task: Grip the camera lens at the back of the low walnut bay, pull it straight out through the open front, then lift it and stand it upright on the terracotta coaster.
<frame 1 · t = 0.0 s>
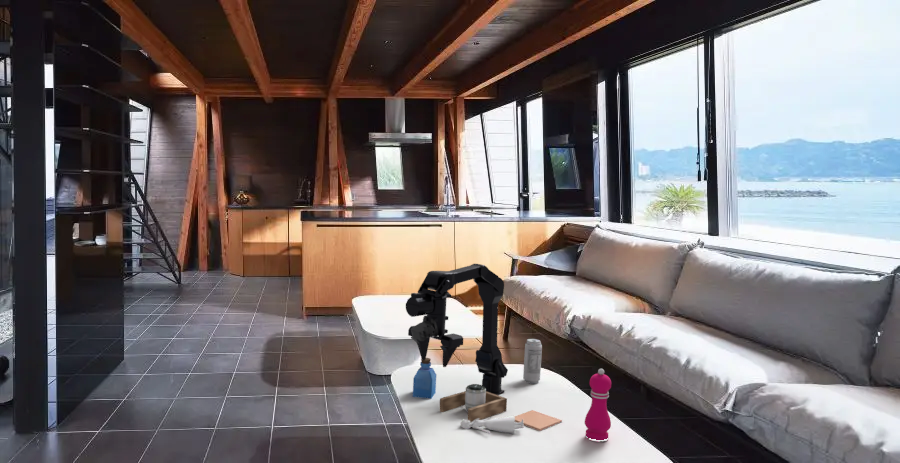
hand: (433, 363, 198), 15 cm above the table, tool pointing down, fingers open, 9 cm apart
walnut bay: (472, 411, 200), on the table
terracotta coaster: (535, 421, 195), on the table
pepper mill: (596, 438, 184), on the table
camera lens: (474, 411, 201), on the table
energy drink can: (531, 381, 234), on the table
perfume bottle: (424, 395, 214), on the table
woman figurine: (491, 431, 187), on the table
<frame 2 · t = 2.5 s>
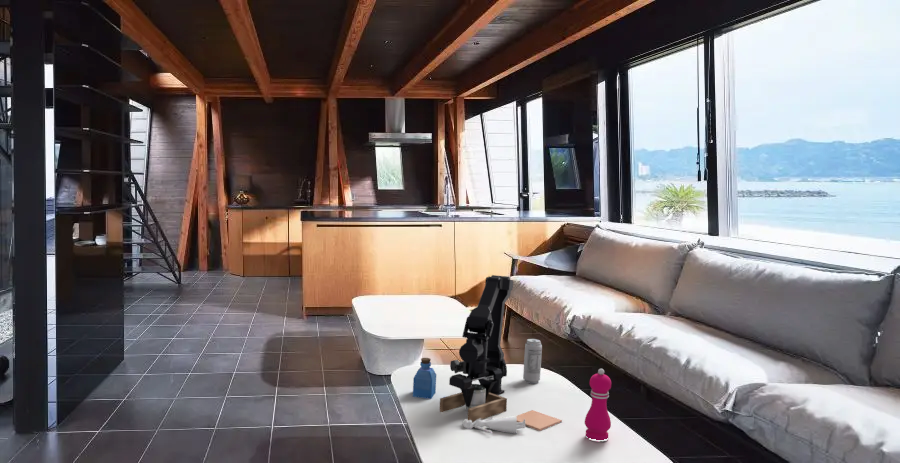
hand: (475, 404, 201), 2 cm above the table, tool pointing down, fingers closed on camera lens, 6 cm apart
camera lens: (474, 411, 201), on the table, touching gripper
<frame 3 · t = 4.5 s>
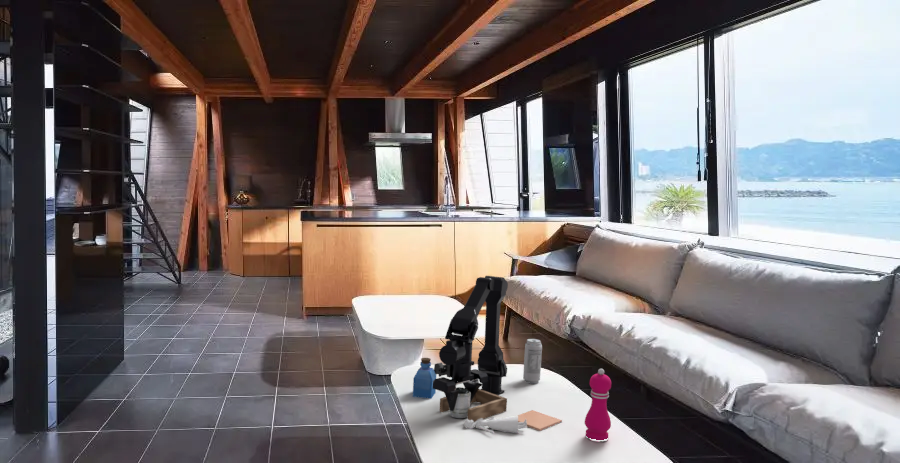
hand: (459, 408, 196), 2 cm above the table, tool pointing down, fingers closed on camera lens, 6 cm apart
camera lens: (459, 415, 196), on the table, touching gripper
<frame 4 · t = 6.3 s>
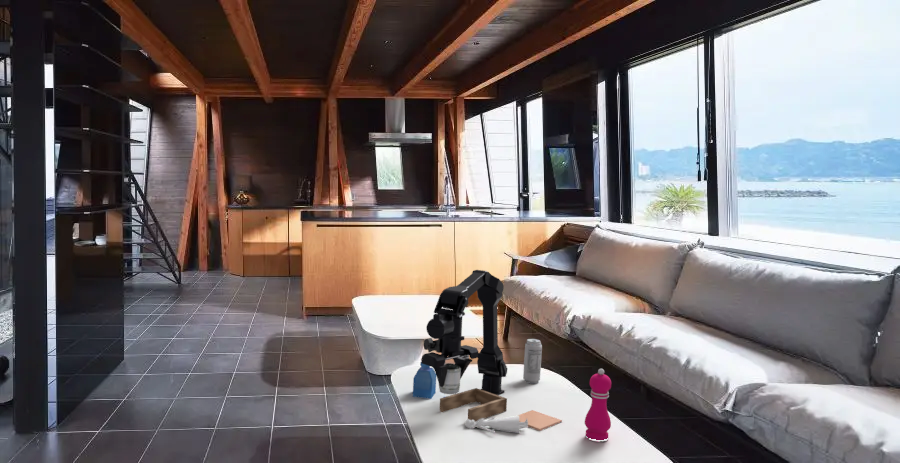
hand: (449, 384, 192), 11 cm above the table, tool pointing down, fingers closed on camera lens, 6 cm apart
camera lens: (448, 391, 192), point 8 cm above the table, touching gripper
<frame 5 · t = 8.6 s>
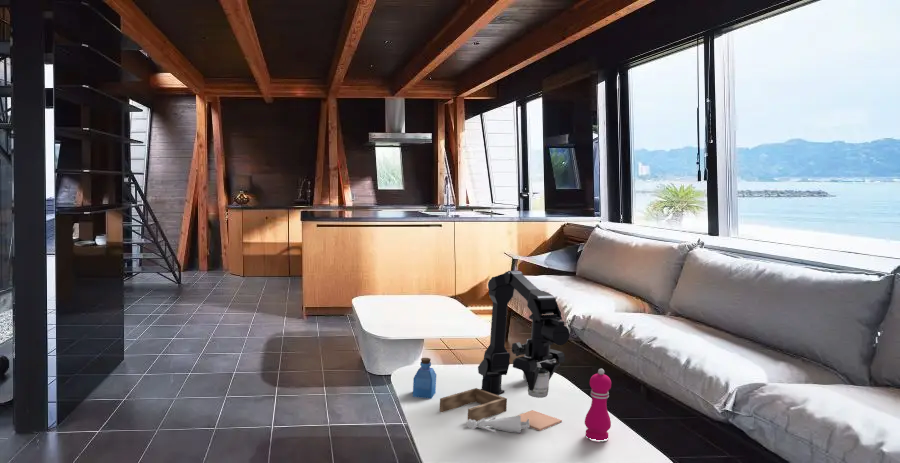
hand: (537, 388, 194), 10 cm above the table, tool pointing down, fingers closed on camera lens, 6 cm apart
camera lens: (537, 395, 194), point 8 cm above the table, touching gripper
when the fingers open (4 cm above the table, at t = 10.5 s): camera lens drops 1 cm, resting on terracotta coaster.
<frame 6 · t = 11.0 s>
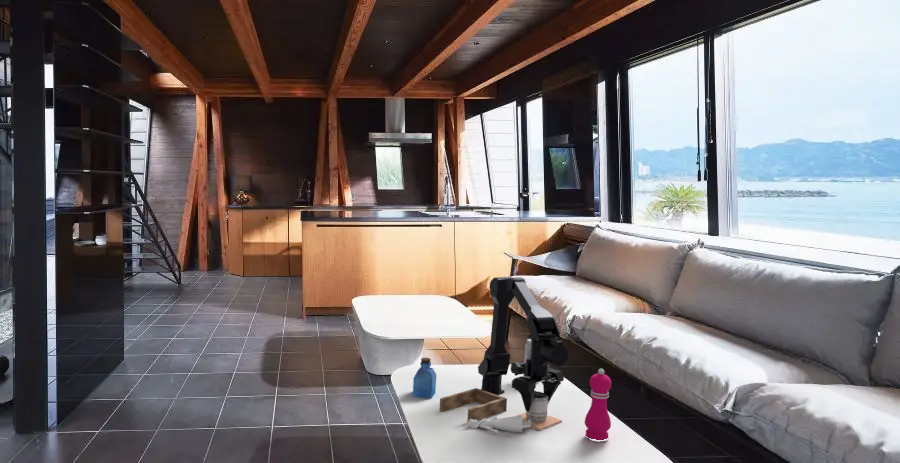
hand: (536, 407, 194), 4 cm above the table, tool pointing down, fingers open, 9 cm apart
camera lens: (536, 419, 195), resting on terracotta coaster
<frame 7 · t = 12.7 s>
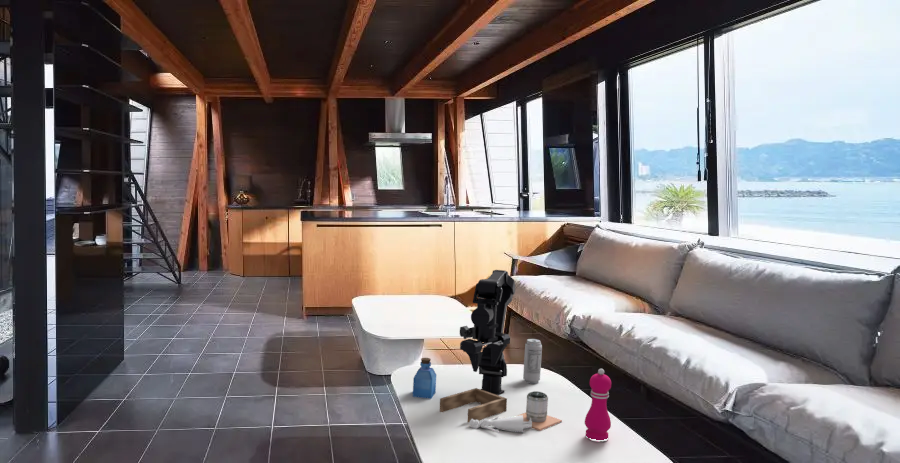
hand: (484, 368, 205), 12 cm above the table, tool pointing down, fingers open, 9 cm apart
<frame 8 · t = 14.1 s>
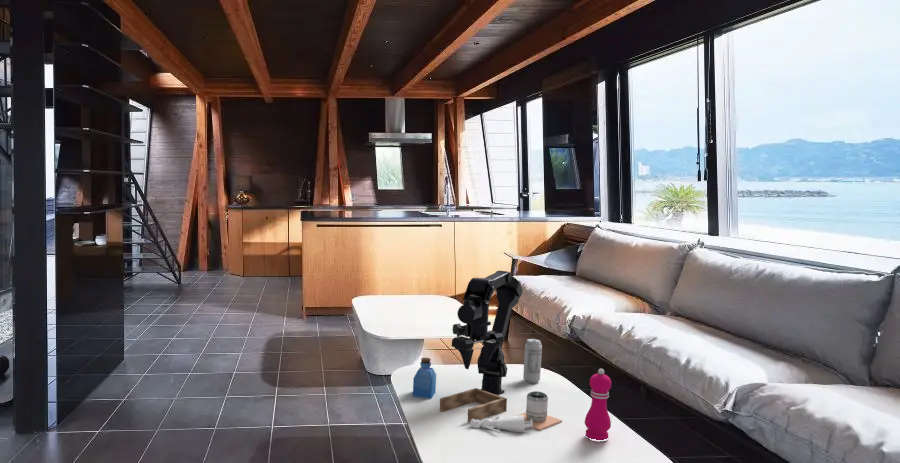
hand: (476, 366, 207), 12 cm above the table, tool pointing down, fingers open, 9 cm apart
at the end: camera lens 0.0 cm off-centre on the terracotta coaster, point 0.4 cm above the terracotta coaster's base; camera lens tilted 0°; the gripper is holding nothing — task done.
